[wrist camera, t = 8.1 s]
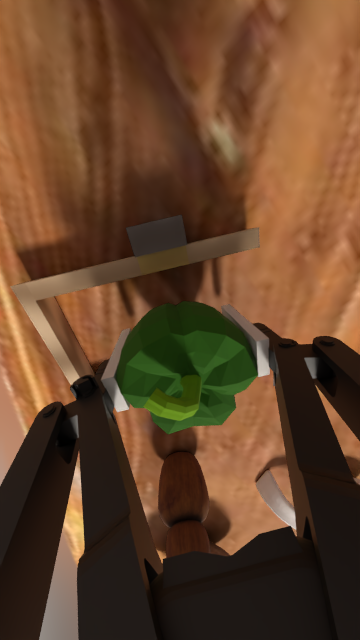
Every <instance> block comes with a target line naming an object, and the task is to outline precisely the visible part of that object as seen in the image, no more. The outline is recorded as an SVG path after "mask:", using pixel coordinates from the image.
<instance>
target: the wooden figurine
mask: <svg viewBox="0 0 360 640" xmlns="http://www.w3.org/2000/svg"><path fill="white" fill-rule="evenodd" d="M158 509H159V515H160V518H161V520H162V521H163V523H164V524H165V525H166V526H167V527H169V528H170V529H169V531H168V534H167V540H166V558H169V557H173V556H176V555H180V554H184V553H188V552H192V551H199V552H205V553H210V544H209V538H208V534H207V532H206V529H205V528H204V526H203V525H202V522H203V521H204V520H206V517H207V515H208V511H209V496H208V491H207V486H206V482H205V479H204V476H203V473H202V470H201V467H200V465H199V463H198V461H197V459H196V458H195V456H193V455H192V454H190V453H188V452H176V453H173V454H171V455H169V456H168V457H167V458H166V460H165V461H164V463H163V466H162V470H161V475H160V481H159V495H158Z"/></svg>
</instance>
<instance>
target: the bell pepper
mask: <svg viewBox="0 0 360 640" xmlns="http://www.w3.org/2000/svg"><path fill="white" fill-rule="evenodd" d="M257 376H258V367H257V361H256V358H255V356H254V354H253V352H252V350H251V348H250V346H249V344H248V341H247V339H246V337H245V335H244V333H243V332H242V331H241V330H240V329H239V328H238V327H237V326H236V325H235V324H234V323H233V322H232V321H231V320H229V319H228V318H227V317H225V316H224V315H223V314H221V313H220V312H219V311H217V310H216V309H215V308H213V307H211V306H208V305H206V304H203V303H199V302H188V301H182V302H181V303H179V304H178V305H176V306H175V305H173V304H170V303H166V304H164V305H161V306H158V307H156V308H153V309H152V310H150V311H149V312H148V313H147V314H146V315H145V316H144V317H143V318H142V319H141V320H140V321H139V322H138V324H137V325H136V326H135V327H134V328H133V330H132V331H131V332H130V333H129V334H128V336H127V338H126V340H125V343H124V345H123V348H122V350H121V355H120V360H119V366H118V371H117V376H116V381H117V384H118V387H119V390H120V393H121V394H122V395H123V396H124V397H125V398H126V400H127V401H128V402H129V403H130V404H131V405H132V406H133V407H134V408H146V409H147V410H149V411H150V414H151V416H152V419H153V422H154V423H155V424H157V425H158V426H159V427H160V428H161V429H162V430H164V431H165V432H166V433H167V434H171V433H174V432H177V431H180V430H183V429H186V428H189V427H192V426H208V425H222V424H223V423H224V421H225V420H226V419H227V418H228V417H229V415H230V414H231V413H232V412H233V411H234V410H235V408H236V403H235V397H234V395H235V394H237V393H239V392H241V391H243V390H245V389H247V387H248V386H249V385H250V384H251V383H252V382H253V380H254V379H255V378H256V377H257Z"/></svg>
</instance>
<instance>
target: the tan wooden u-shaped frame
mask: <svg viewBox="0 0 360 640" xmlns="http://www.w3.org/2000/svg"><path fill="white" fill-rule="evenodd" d="M126 230H127V233H128V237H129V240H130V243H131V246H132V250H133V253H134V256H132V257H128V258H124V259H120V260H115V261H111V262H107V263H103V264H99V265H94V266H90V267H86V268H82V269H78V270H73V271H69V272H65V273H61V274H57V275H52V276H48V277H44V278H40V279H36V280H31V281H28V282H24V283H21V284H18V285H14V286H11V288H12V290H13V292H14V293H15V295H16V297H17V298H18V300H19V301H20V303H21V305H22V306H23V308H24V310H25V311H26V313H27V314H28V316H29V318H30V319H31V321H32V323H33V324H34V326H35V327H36V329H37V331H38V332H39V334H40V336H41V337H42V339H43V340H44V342H45V344H46V345H47V347H48V349H49V350H50V352H51V353H52V355H53V357H54V358H55V360H56V362H57V363H58V365H59V366H60V368H61V370H62V371H63V373H64V375H65V376H66V378H67V379H68V381H69V383H70V384H71V385H72V384H73V382H75V381H76V380H77V379H79V378H80V377H82V376H85V375H93V376H95V373H94V372H93V370H92V368H91V366H90V364H89V362H88V360H87V358H86V356H85V354H84V352H83V351H82V349H81V347H80V345H79V343H78V341H77V339H76V337H75V335H74V333H73V332H72V330H71V328H70V326H69V324H68V322H67V320H66V318H65V316H64V314H63V313H62V311H61V309H60V307H59V305H58V303H57V301H56V299H55V297H54V296H58V295H62V294H66V293H70V292H74V291H79V290H83V289H87V288H91V287H95V286H99V285H104V284H108V283H112V282H116V281H120V280H125V279H129V278H133V277H137V276H141V275H146V274H150V273H154V272H158V271H162V270H166V269H171V268H175V267H179V266H183V265H187V264H192V263H196V262H200V261H204V260H208V259H213V258H217V257H221V256H225V255H229V254H233V253H238V252H242V251H246V250H250V249H254V248H259V247H260V244H259V227H258V228H252V229H246V230H241V231H237V232H233V233H229V234H225V235H220V236H216V237H212V238H208V239H204V240H199V241H195V242H191V243H187V240H186V235H185V229H184V224H183V219H182V215H178V216H174V217H169V218H165V219H161V220H157V221H152V222H148V223H144V224H140V225H136V226H131V227H127V228H126Z"/></svg>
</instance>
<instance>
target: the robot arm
mask: <svg viewBox="0 0 360 640" xmlns="http://www.w3.org/2000/svg"><path fill="white" fill-rule="evenodd" d="M221 308H222V314H223V315H224V316H225V317H227V318H228V319H229V320H231V321H232V322H233V323H234V324H235V325H236V326H237V327H238V328H239V329H240V330H241V331H242V332H243V333H244V335H245V337H246V339H247V341H248V344H249V346H250V348H251V350H252V352H253V354H254V356H255V358H256V361H257V367H258V377H261V376H265V375H269V374H270V369H269V367H270V368H271V369H272V370H273V375H274V386H275V389H276V396H277V402H278V408H279V414H280V421H281V427H282V433H283V439H284V446H285V452H286V458H287V465H288V471H289V477H290V483H291V490H292V496H293V502H294V509H295V521H296V531H297V537H296V536H295V534H294V532H293V530H292V528H291V526H288V527H285V528H281V529H277V530H273V531H269V532H265V533H261V534H259V535H258V536H256V537H255V538H254V539H253V540H251V541H250V542H249V543H247V544H246V545H245V546H244V547H242V548H241V549H240V550H238V551H237V552H236V553H235V554H233V555H231V556H223V555H217V554H211V553H205V552H199V551H192V552H188V553H184V554H180V555H176V556H173V557H169V558H165V559H163V565H162V563H161V560H160V558H159V555H158V553H157V551H156V548H155V545H154V542H153V539H152V536H151V533H150V529H149V526H148V523H147V520H146V516H145V513H144V510H143V507H142V503H141V500H140V497H139V493H138V490H137V487H136V484H135V480H134V477H133V474H132V471H131V467H130V464H129V461H128V458H127V454H126V451H125V448H124V445H123V441H122V438H121V435H120V431H119V428H118V425H117V422H116V418H115V416H114V414H113V409H114V406H115V408H116V410H117V412H120V411H124V410H128V409H129V406H130V403H129V402H128V401H127V400H126V398H125V397H124V396H123V395H122V394H121V393H120V390H119V387H118V384H117V381H116V376H117V371H118V366H119V360H120V355H121V350H122V348H123V345H124V343H125V340H126V338H127V336H128V334H129V333H130V332H131V328H129V329H125V330H122V332H121V334H120V337H119V339H118V341H117V344H116V346H115V348H114V351H113V353H112V355H111V357H110V359H109V360H105V361H104V362H103V363H102V364H101V365H100V366H99V368H98V370H97V372H96V375H95V376H93V375H85V376H82V377H80V378H79V379H77V380H76V381H75V382H73V384H72V385H71V387H70V390H71V391H72V393H73V394H74V396H75V398H76V401H74V402H72V403H69V404H67V405H65V406H63V404H62V403H61V402H54V403H51V404H49V405H47V406H46V407H44V408H43V409H42V410H41V411H40V412H39V413H38V415H37V416H36V418H35V420H34V422H33V424H32V426H31V428H30V430H29V432H28V434H27V435H26V437H25V439H24V441H23V443H22V445H21V447H20V449H19V451H18V453H17V455H16V457H15V459H14V461H13V463H12V465H11V467H10V469H9V470H8V472H7V474H6V476H5V478H4V480H3V482H2V484H1V486H0V640H39V637H40V632H41V627H42V622H43V618H44V613H45V608H46V603H47V599H48V594H49V589H50V584H51V579H52V575H53V571H54V566H55V561H56V556H57V551H58V547H59V542H60V537H61V533H62V528H63V523H64V518H65V514H66V509H67V504H68V499H69V495H70V490H71V485H72V480H73V476H74V471H75V466H76V462H77V457H78V452H79V453H80V471H81V488H82V506H83V523H84V541H85V549H84V554H83V555H82V556H81V558H80V559H79V563H78V568H77V595H78V633H79V640H360V485H359V484H358V483H356V481H355V480H354V478H353V476H352V474H351V472H350V469H349V467H348V464H347V462H346V459H345V457H344V454H343V452H342V450H341V447H340V445H339V442H338V440H337V437H336V435H335V432H334V430H333V428H332V425H331V423H330V420H329V418H328V415H327V413H326V410H325V408H324V406H323V403H322V401H321V398H320V396H319V393H318V391H317V388H316V386H317V387H318V388H319V390H320V391H321V392H322V393H323V395H324V396H325V397H326V399H327V400H328V401H329V402H330V404H331V405H332V406H333V408H334V409H335V410H336V411H337V413H338V414H339V415H340V416H341V418H342V419H343V420H344V422H345V423H346V424H347V425H348V427H349V428H350V429H351V431H352V432H353V433H354V434H355V436H356V437H357V438H358V439H359V441H360V355H359V354H358V353H357V352H355V351H354V350H352V349H351V348H350V347H348V346H347V345H346V344H344V343H343V342H342V341H340V340H338V339H337V338H333V337H330V336H319V337H316V338H314V339H313V344H302V345H301V344H298V343H297V342H296V341H294V340H292V339H286V338H281V337H280V336H278V335H277V334H276V333H275V332H273V331H272V330H271V329H269V328H268V327H267V326H265V325H264V324H261V323H254V324H252V323H251V322H249V321H248V320H247V319H246V318H245V317H244V316H242V315H241V314H240V313H239V312H238V311H237V310H235V309H234V308H233V307H232V306H231V305H230V304H228V305H224V306H221ZM315 385H316V386H315Z"/></svg>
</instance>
